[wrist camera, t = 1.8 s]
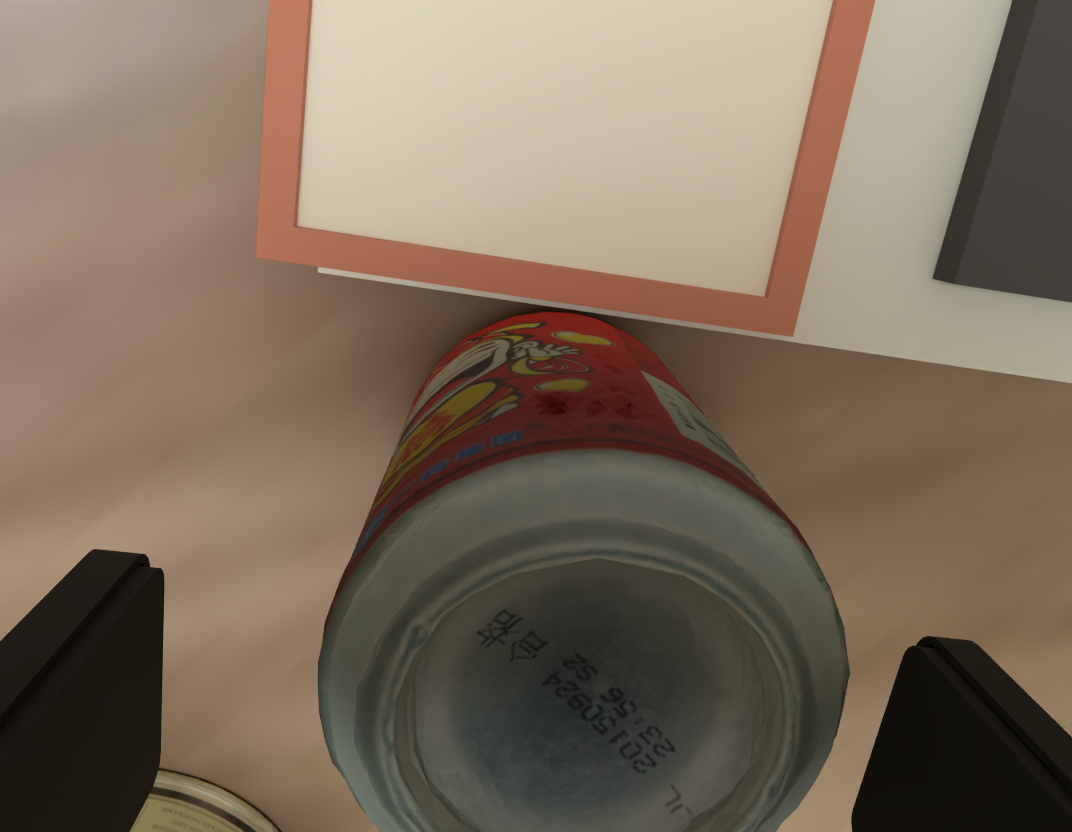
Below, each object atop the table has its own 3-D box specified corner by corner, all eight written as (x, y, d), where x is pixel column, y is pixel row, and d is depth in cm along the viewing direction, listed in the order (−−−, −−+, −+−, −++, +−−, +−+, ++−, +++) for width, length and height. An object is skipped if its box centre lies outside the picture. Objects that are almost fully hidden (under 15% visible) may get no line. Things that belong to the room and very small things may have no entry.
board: (1445, -151, 18) (1508, -173, 17) (1223, 398, 22) (1262, 411, 21) (379, -373, 17) (369, -414, 15) (328, 266, 20) (317, 272, 19)
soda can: (524, 239, 20) (551, 342, 8) (732, 409, 22) (998, 698, 10) (357, 450, 22) (182, 788, 10) (562, 596, 23) (621, 1040, 11)
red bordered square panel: (934, -282, 16) (947, -296, 16) (786, 333, 20) (793, 336, 19) (299, -415, 15) (293, -434, 15) (262, 255, 19) (255, 257, 18)
